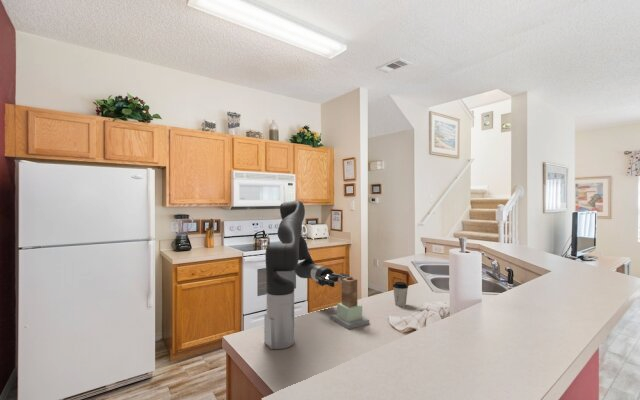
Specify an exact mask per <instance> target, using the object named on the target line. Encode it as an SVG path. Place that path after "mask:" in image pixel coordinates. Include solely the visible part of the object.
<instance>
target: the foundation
mask: <svg viewBox="0 0 640 400" xmlns="http://www.w3.org/2000/svg"><path fill="white" fill-rule="evenodd" d="M336 306H337V308H336V309H337V310H336V311H337V312H336V313H333V314H330V319H331V320H332V321H334V322H335V323H338V324H339V325H341V326H343V327H344V328H346V329H347V330H351V329H355V328H358V327H362V326H366V325H369V324H370V319H369V318H367V317H365V316H363V305H361V304H359V303H358V302H357V305H356V306H352V307H347V306H345V305H343V304H342V302H339V303H336Z"/></svg>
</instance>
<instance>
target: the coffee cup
mask: <svg viewBox="0 0 640 400" xmlns="http://www.w3.org/2000/svg"><path fill="white" fill-rule="evenodd" d="M408 288H409V285H408V284H407V283H406V282H403V281H395V282H394V283H393V284H392V289H393V295H394V296H393V297H394V304H395V306H396V307H399V308H400V307H401V308H402V307H406V305H407V297H408V290H409V289H408Z"/></svg>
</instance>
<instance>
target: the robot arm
mask: <svg viewBox="0 0 640 400" xmlns="http://www.w3.org/2000/svg"><path fill="white" fill-rule="evenodd" d="M305 209H306V208H305V204H304V203H303V202H302V201H301V200H293V201H286V202H282V203H280V206H279V211H280V212H279V213H280V217H281V221H280V223H279V225H278V229H277V237H278V240H279V241H280V243H269V244H268V245H267V247H266V248H265V269H266V270H265V272H266V273H265V275H266V280H265V281H266V283H265V284H266V313H264V315H263V316H264V317H263V319H264V321H263V322H264V324H263V325H264V327H263V328H264V329H263V330H264V333H263V334H264V336H263V337H264V338H263V339H264V340H263V341H264V344H265V345H267V347H268V348H269V349H270V350H282V349H283V350H284V349H288V348H290V347H292V346H293V345H294V344H295V283H294V282H293V281H292V280H289V279H287V278H285V277H283V276H281V275H280V274H279V273H278V272H293V271H294V273H295V274H296V276H297V277H298V278H302V279H311V280H313V281H315V283H316V284H317V285H319V286H322V287H323V286H327V287H328V286H329V287H331V288H335V284H336V283H337V284H342V279H344V278H347V277H350V275H349V274H346V273H343V272H340V273H335V272H334V271H333V270H332V269H331V268H329V267H326V266H323V265H319V264H317V263H315V261H314V260H313V258H312V257H311V254H310V252H309V247H308V243H307V241H306V239H305V238H304V236H303V235H302V225H303V221H304V218H305V215H306V214H305V213H306V211H305ZM299 261H300V262H299Z"/></svg>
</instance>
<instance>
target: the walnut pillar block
mask: <svg viewBox="0 0 640 400" xmlns="http://www.w3.org/2000/svg"><path fill="white" fill-rule="evenodd" d="M341 303H342V304H343V305H345V306H347V307H352V306H356V305H357V303H358V279H356V278H353V276H349V277H347V278H344V279H342V282H341Z"/></svg>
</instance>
